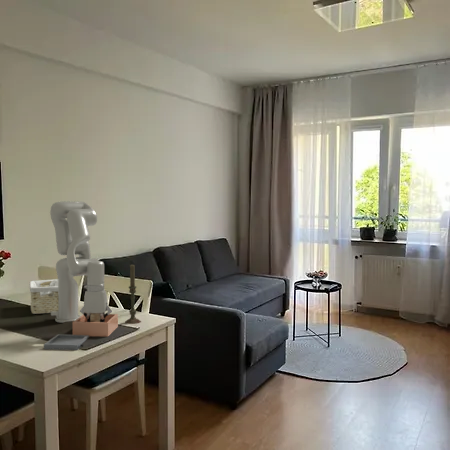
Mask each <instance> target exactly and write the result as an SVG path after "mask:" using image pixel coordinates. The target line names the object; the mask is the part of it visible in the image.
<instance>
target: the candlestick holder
mask: <svg viewBox="0 0 450 450" xmlns="http://www.w3.org/2000/svg"><path fill="white" fill-rule="evenodd" d="M129 269H130V270H129V271H130V272H129V279H130V280H129V283H130V285H129V286H128V289H129V290H128V291H129V293H130V303H131V304H130V307H131V308H130V310H129V311H128V312H129V315H130V317H129V318H128V319H127V320H125V321H124V323H125V324H127V325H136V324H137V325H138V324H140V323H142V321H141V320H140V319H139V318H137V317H136V314H137V310H136V309H135V300H136V297H135V293H136V292H137V290H136V289H137V286H136V284H135V283H136V278H135V277H136V276H135V264H133V263H132V264H129Z"/></svg>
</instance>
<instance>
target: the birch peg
mask: <svg viewBox="0 0 450 450" xmlns="http://www.w3.org/2000/svg"><path fill="white" fill-rule="evenodd" d="M100 320H101V315H100V314H95V313H90V322H100Z"/></svg>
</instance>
